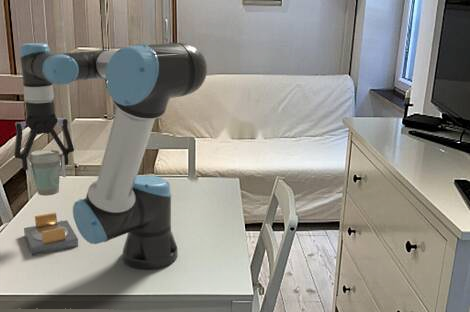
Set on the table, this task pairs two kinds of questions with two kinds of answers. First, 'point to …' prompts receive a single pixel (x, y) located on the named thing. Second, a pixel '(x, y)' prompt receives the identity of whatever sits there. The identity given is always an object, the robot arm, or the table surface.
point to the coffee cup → (46, 171)
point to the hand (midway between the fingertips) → (47, 178)
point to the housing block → (49, 235)
